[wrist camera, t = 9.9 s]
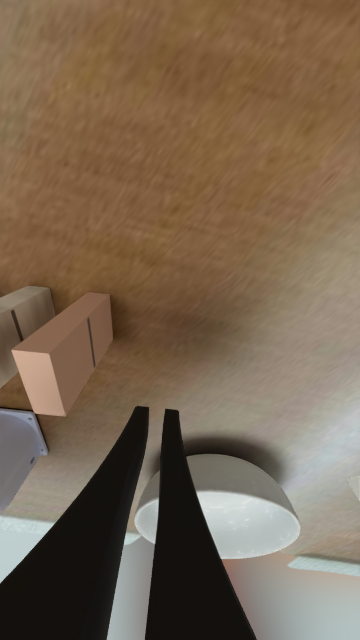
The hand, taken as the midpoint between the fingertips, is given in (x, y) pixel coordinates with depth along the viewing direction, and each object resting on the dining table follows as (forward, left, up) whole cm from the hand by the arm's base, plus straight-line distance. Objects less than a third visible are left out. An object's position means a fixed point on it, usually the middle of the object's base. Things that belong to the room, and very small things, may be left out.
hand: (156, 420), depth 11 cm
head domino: (0, +7, -10) cm, 13 cm away
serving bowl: (-26, -8, -11) cm, 29 cm away
